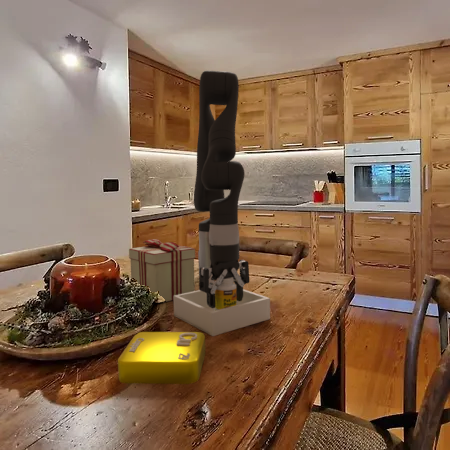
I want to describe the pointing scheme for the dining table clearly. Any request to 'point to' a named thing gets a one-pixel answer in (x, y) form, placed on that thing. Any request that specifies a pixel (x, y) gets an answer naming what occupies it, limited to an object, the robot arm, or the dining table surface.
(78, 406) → the dining table surface
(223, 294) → the supplement bottle
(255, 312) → the box
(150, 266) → the gift box
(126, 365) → the element tile
